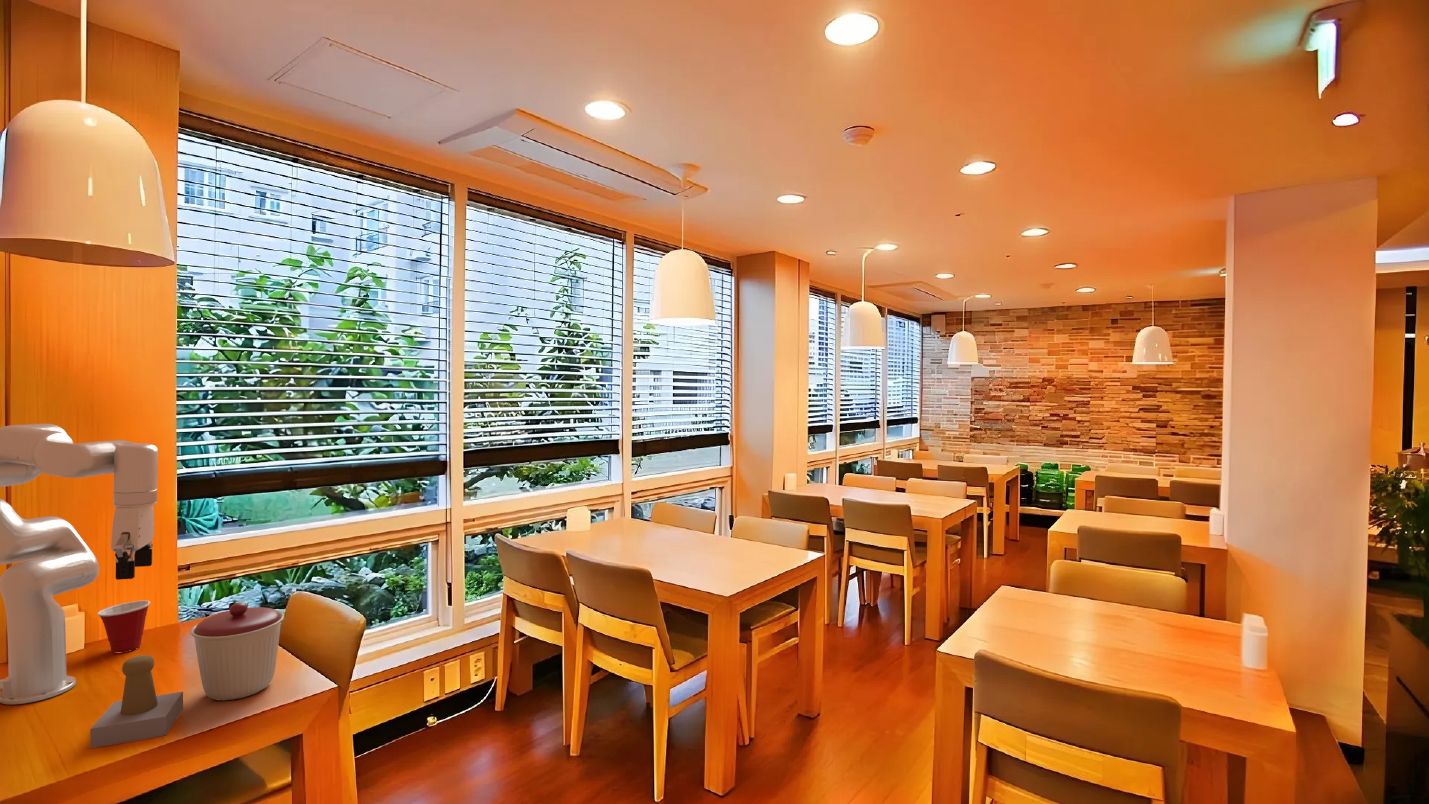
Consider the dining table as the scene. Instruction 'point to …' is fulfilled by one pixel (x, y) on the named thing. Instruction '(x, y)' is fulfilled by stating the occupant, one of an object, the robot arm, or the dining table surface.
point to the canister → (237, 650)
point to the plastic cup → (125, 624)
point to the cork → (138, 686)
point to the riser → (136, 722)
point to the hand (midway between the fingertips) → (134, 572)
